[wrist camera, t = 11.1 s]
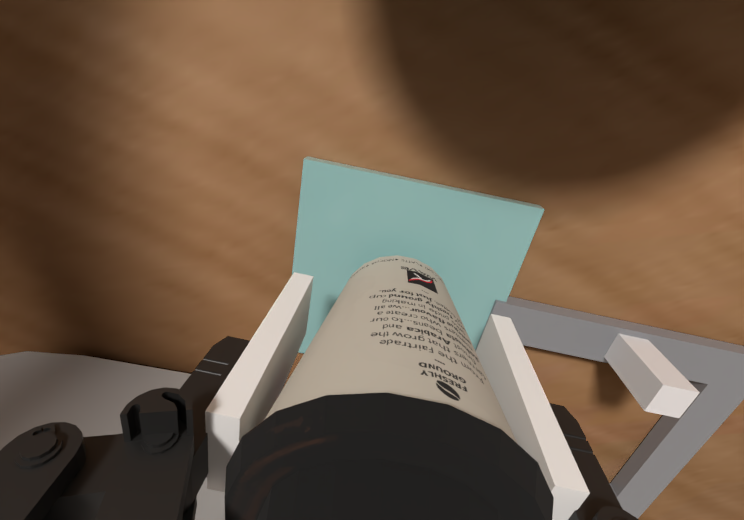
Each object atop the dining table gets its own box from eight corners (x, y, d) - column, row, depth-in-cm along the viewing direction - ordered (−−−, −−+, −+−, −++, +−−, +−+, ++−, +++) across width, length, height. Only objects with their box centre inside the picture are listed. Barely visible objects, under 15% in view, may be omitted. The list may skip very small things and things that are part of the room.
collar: (492, 292, 17) (515, 346, 13) (761, 349, 17) (857, 419, 13) (424, 466, 23) (427, 537, 19) (626, 509, 22) (668, 589, 19)
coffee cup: (420, 192, 13) (447, 406, 4) (508, 325, 15) (654, 660, 6) (283, 282, 15) (106, 549, 6) (376, 388, 17) (342, 702, 8)
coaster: (307, 156, 15) (303, 158, 14) (539, 205, 15) (544, 209, 14) (287, 342, 19) (284, 349, 19) (468, 380, 19) (469, 388, 19)
